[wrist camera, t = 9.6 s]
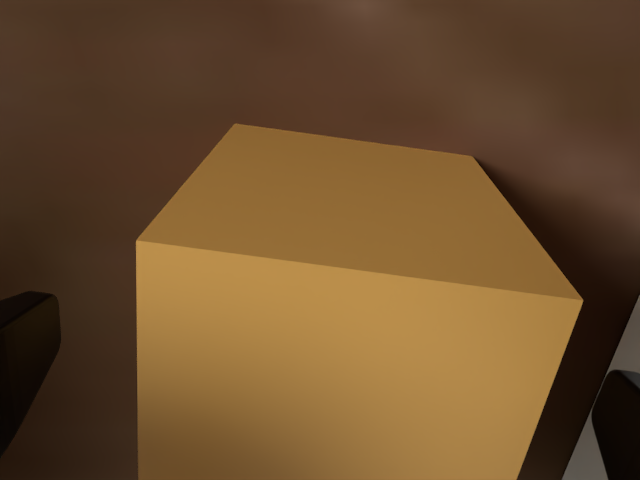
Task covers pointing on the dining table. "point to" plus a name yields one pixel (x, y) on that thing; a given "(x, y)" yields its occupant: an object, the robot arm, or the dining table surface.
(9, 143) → the dining table surface
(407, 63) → the dining table surface
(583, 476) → the breaker panel
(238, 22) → the dining table surface
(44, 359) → the robot arm
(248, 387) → the cap
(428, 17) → the dining table surface
